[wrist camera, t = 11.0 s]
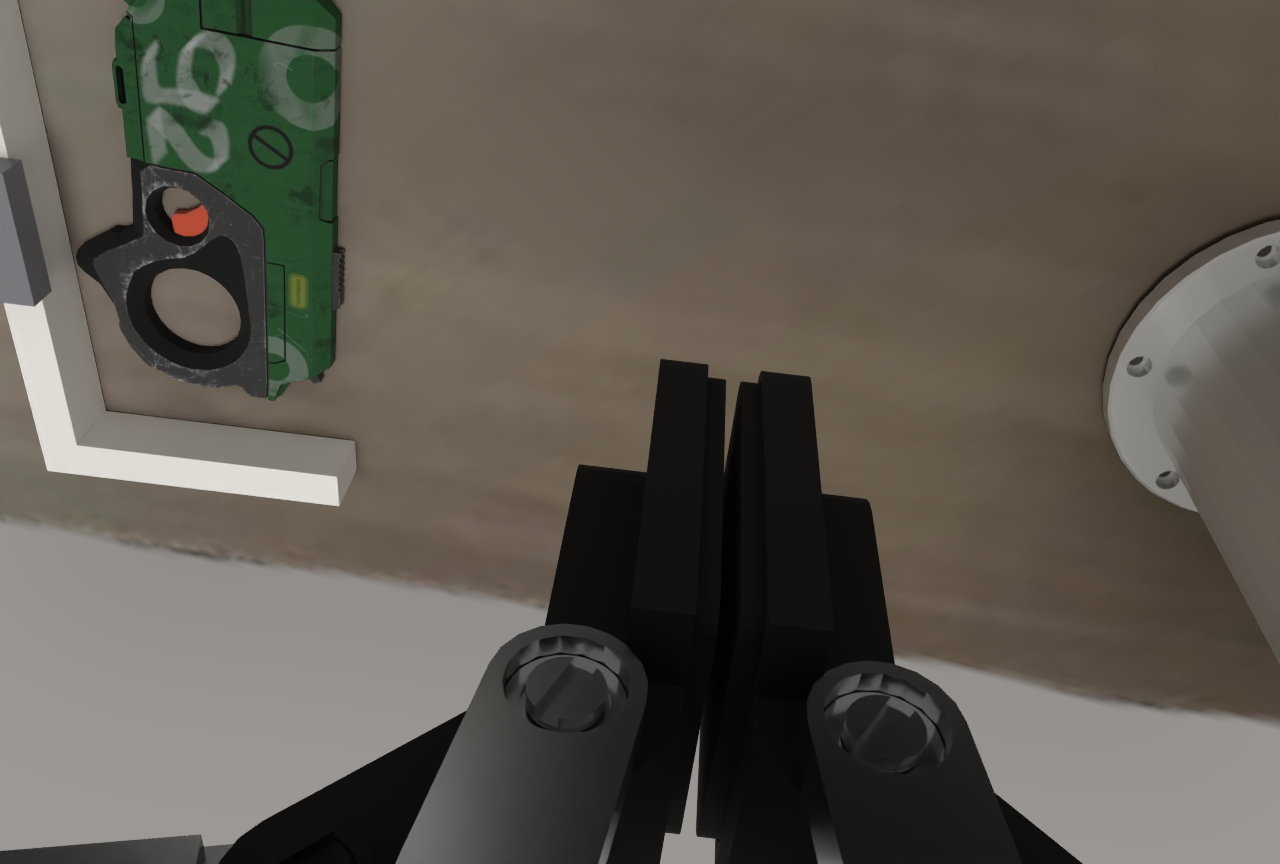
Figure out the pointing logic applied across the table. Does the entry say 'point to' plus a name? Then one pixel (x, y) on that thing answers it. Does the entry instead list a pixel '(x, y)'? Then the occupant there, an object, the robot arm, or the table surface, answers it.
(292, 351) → the gun
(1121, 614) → the table surface
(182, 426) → the white angled bar
